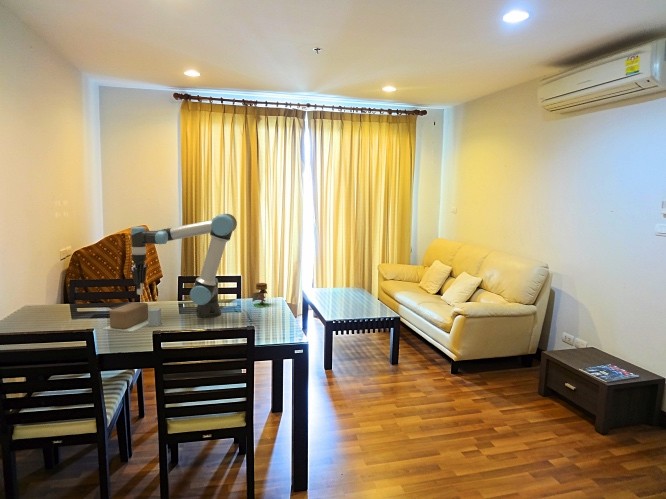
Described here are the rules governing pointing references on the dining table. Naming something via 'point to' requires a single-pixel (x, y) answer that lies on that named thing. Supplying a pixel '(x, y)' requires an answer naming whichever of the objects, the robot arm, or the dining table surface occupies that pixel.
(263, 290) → the figurine on green base
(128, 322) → the wooden block
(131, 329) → the mat
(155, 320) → the light grey block
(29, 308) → the dining table surface
